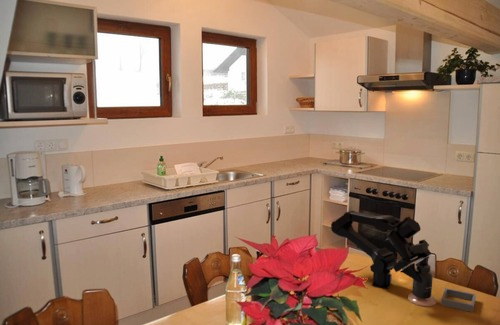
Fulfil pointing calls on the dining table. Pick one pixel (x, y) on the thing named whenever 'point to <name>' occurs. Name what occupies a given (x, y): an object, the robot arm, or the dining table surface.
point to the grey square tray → (455, 303)
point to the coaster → (422, 301)
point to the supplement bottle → (423, 282)
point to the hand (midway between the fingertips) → (426, 280)
